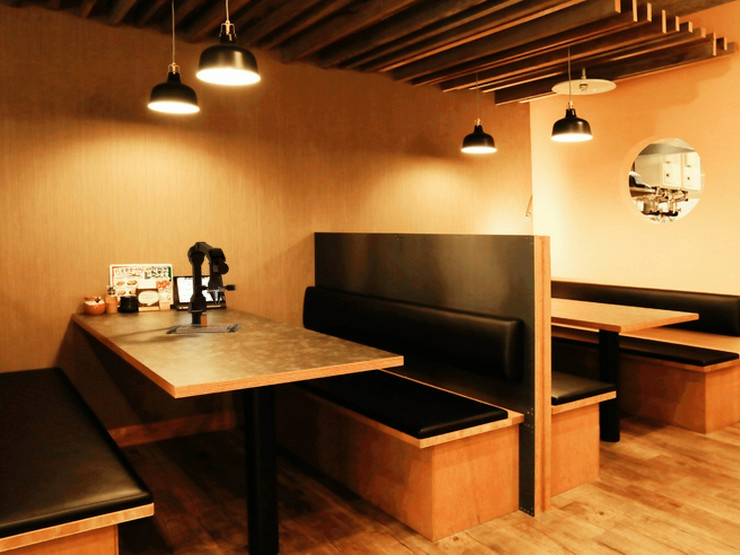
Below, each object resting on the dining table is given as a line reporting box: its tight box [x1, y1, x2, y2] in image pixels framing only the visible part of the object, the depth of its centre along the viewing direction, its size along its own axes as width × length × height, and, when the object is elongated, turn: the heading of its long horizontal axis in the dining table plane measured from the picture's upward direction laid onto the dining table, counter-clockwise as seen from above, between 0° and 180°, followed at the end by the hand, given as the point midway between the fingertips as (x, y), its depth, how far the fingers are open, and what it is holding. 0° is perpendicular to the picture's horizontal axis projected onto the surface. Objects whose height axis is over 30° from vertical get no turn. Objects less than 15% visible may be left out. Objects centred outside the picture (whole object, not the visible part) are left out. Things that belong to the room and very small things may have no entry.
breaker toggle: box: [201, 313, 210, 326], centre depth 308 cm, size 4×3×6 cm
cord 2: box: [228, 323, 242, 333], centre depth 309 cm, size 18×3×2 cm, turn 2°
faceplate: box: [175, 322, 234, 334], centre depth 308 cm, size 15×24×2 cm, turn 92°
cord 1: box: [165, 324, 182, 335], centre depth 308 cm, size 18×3×2 cm, turn 2°
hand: (216, 305), depth 308 cm, fingers closed
